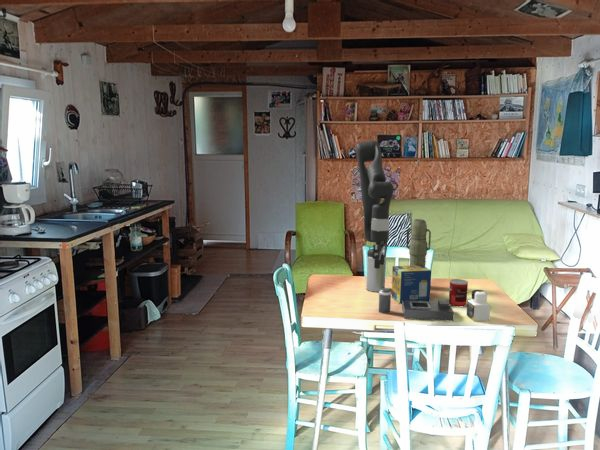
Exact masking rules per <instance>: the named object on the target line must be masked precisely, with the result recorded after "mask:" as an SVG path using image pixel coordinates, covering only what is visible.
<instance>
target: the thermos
mask: <svg viewBox="0 0 600 450" xmlns="http://www.w3.org/2000/svg"><path fill="white" fill-rule="evenodd" d="M410 232H411V234H410ZM427 232H428V233H427ZM427 234H428V242H427ZM410 235H411V237H409V236H410ZM431 237H432V232H431V230H430V229H428V226H427V222H426V220H425V219H423V218H422V219H421V218H418V219H417V218H416V219H414V220H413V221H412V223H411V228H409V229H408V230H407V231H406V248H407V249H408V250H409V251H408V252H409V253H408V254H409V266H410V265H423V266H424V267H426V258H427V257H426V256H427V254H428V251H430V249H431ZM409 239H410V241H409Z"/></svg>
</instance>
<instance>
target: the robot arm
mask: <svg viewBox="0 0 600 450" xmlns="http://www.w3.org/2000/svg"><path fill="white" fill-rule="evenodd" d="M381 152H382V151H381V146H380V144H379V142H378V141H377V140H367V141H363V142H358V143H356V145H355V154H356V161H357V168H358V172H359V181H360V182H359V183H360V192H361V201H362V207H363V208H362V209H363V227H364V228H363V232H364V239H365V240H366V241H367V242H369V243H375V244H373V245H372V248H370V249H368V250H367V253H366V258H367V259H366V286H365V287H366V289H365V290H367V291H369V292H374V293H375V292H376V293H377V292H378V293H379V289H381V288H386V268H387V267H386V265H387V261H386V260H387V251H388V241H389V240H390V221H389V217H390V206H391V201H392V198H393V195H394V192H395V188H394V184H393V183H392V182H390V181H387V177H386V174H385V172H384V167H383V159H382V153H381ZM366 162H371V163H370V165H369V166H368V168H367V167H366V166H367V165H366ZM382 199H383V201H382ZM381 201H382V202H381Z"/></svg>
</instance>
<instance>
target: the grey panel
mask: <svg viewBox="0 0 600 450" xmlns="http://www.w3.org/2000/svg"><path fill="white" fill-rule="evenodd" d="M401 311H402V314H403V319H405V320H423V321H424V320H425V321H426V320H427V321H428V320H429V321H445V322H446V321H449V322H454V310H453V308H452V305H450V303H449V299H438V300H437V301H436V300H430V301H420V300H402V304H401Z"/></svg>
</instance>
